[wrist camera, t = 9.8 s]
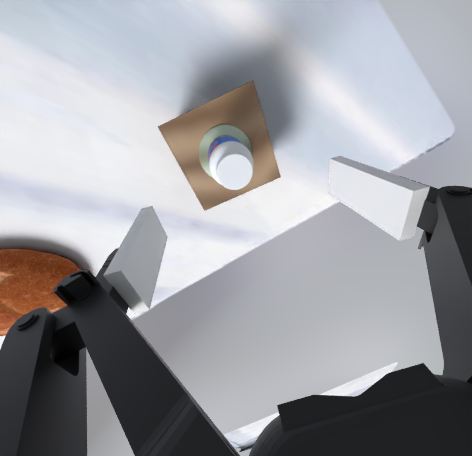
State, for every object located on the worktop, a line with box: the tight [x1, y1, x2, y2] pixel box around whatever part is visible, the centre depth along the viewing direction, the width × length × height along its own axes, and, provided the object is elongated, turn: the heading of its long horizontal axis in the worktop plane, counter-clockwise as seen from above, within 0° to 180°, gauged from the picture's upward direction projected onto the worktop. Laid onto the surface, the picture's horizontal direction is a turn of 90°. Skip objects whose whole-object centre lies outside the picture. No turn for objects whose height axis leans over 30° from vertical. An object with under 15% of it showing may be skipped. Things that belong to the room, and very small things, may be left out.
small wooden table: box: [158, 81, 280, 210], centre depth 34 cm, size 14×14×9 cm
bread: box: [0, 249, 81, 336], centre depth 43 cm, size 23×32×9 cm
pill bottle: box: [208, 135, 253, 190], centre depth 26 cm, size 6×5×10 cm
